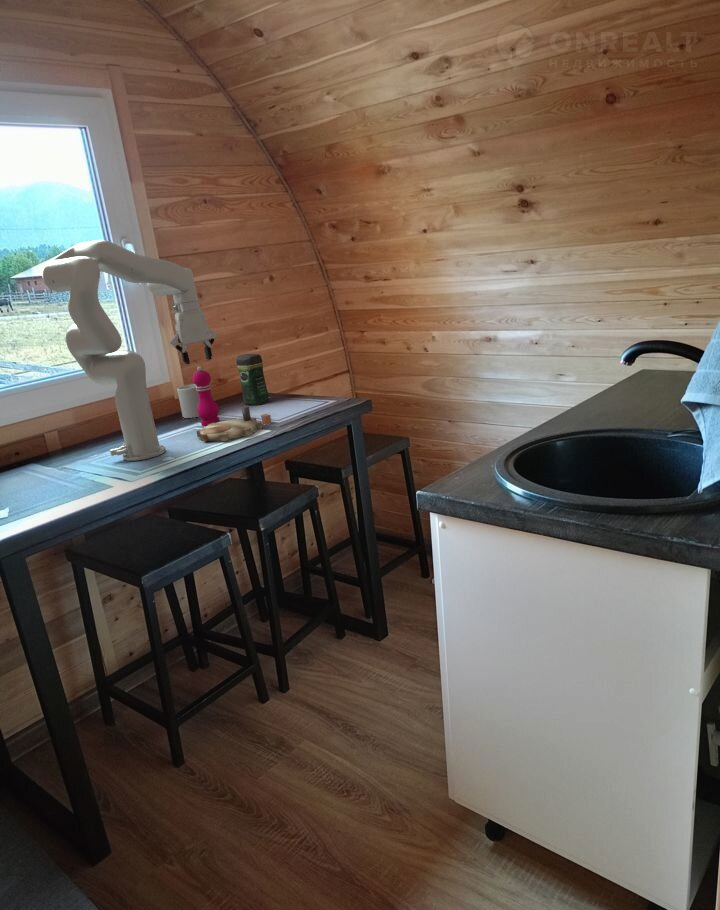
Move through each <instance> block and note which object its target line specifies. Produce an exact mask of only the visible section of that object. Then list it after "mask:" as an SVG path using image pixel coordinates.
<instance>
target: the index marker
mask: <svg viewBox="0 0 720 910" xmlns="http://www.w3.org/2000/svg"><path fill="white" fill-rule="evenodd" d="M260 416H261V417H260V418H261V424H262V425H264V424H265V426H268V424H269V425H272V424H271V423H273V422H272V417H271V414H268V413H264V414H261V415H260Z"/></svg>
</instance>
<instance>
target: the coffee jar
mask: <svg viewBox="0 0 720 910" xmlns="http://www.w3.org/2000/svg"><path fill="white" fill-rule="evenodd" d="M235 361H236V367H237V369H238V370H237V371H238V373H239V377H240V386H241V392H242V400H243V404H244V405H249V406H257V405H264V404H266V403H268V402H269V401H270V395H269V391H268V388H267V387H268V386H267V384H266V380H265V374H264V362H263V358H262V355H260V354H259V353H245V354H244V353H243V354H241V355H238V356H237V357H236V360H235Z"/></svg>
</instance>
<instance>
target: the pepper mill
mask: <svg viewBox="0 0 720 910" xmlns="http://www.w3.org/2000/svg"><path fill="white" fill-rule="evenodd" d="M196 369H197V371H195V373H193V375H192V382H193V384H195V385H196V390H197V391H198V394H199V405H198V416H199V418H200V419H201V420H200V424H201V426H202V427H204V426H208V424H211V423H217V422H221V420H220V417H219V416H218V415H219V413H220V409H219V406H218V404H217V403H216V400H215V399H214V398H213V396H212V393H211V389H212V386H211V383H210V382H211V381H212V378H211V377H212V376H211V374H210V372H208V371H207V370H203V367H202V366H197V368H196Z"/></svg>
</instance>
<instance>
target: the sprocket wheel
mask: <svg viewBox="0 0 720 910" xmlns="http://www.w3.org/2000/svg"><path fill="white" fill-rule="evenodd" d="M250 410H251V409H250V407H249V406H244V407H242V408H241V413H242V418H237V417H235V418H230V419H228V420H222V421H220V422H217V423H211V424H208V426H206V427H204V426H203V428H201V429H196V431H195V432H196V437H197V438H200V441H201V442H208V441H210V442H211V441H214V442H215V441H221V442H225V441H227V442H228V441H229V440H232V439H236V438H241V437H244V436H246V437H248V436H250V435H253V433H255V432H256V431H258V430H261V429H263V424H262V420H259V421H258V420H257V418H256V417H252V416H251V412H250Z"/></svg>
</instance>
